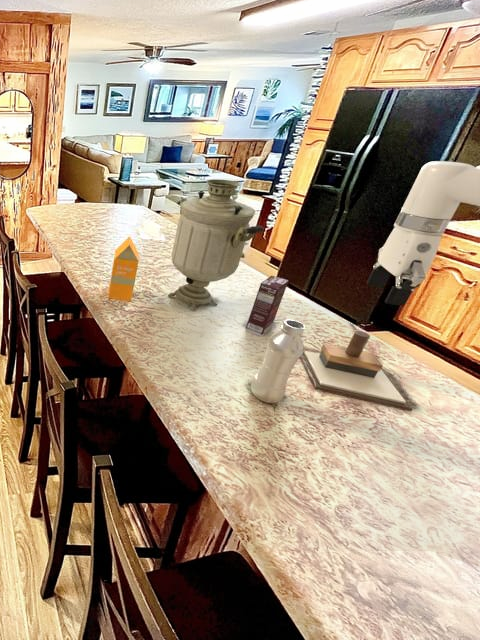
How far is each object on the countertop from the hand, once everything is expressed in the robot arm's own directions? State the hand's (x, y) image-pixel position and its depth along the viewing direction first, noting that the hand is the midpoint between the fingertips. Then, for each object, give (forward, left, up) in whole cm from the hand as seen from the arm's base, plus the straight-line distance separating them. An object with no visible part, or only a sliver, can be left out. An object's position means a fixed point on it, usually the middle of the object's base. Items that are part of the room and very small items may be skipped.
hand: (383, 294), depth 89 cm
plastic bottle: (+21, +19, -22) cm, 36 cm away
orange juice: (+58, -20, -22) cm, 65 cm away
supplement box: (+17, -14, -22) cm, 31 cm away
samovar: (+32, -26, -22) cm, 47 cm away
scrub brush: (0, 0, -21) cm, 21 cm away
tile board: (0, +3, -22) cm, 23 cm away
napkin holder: (+51, -92, -22) cm, 108 cm away
